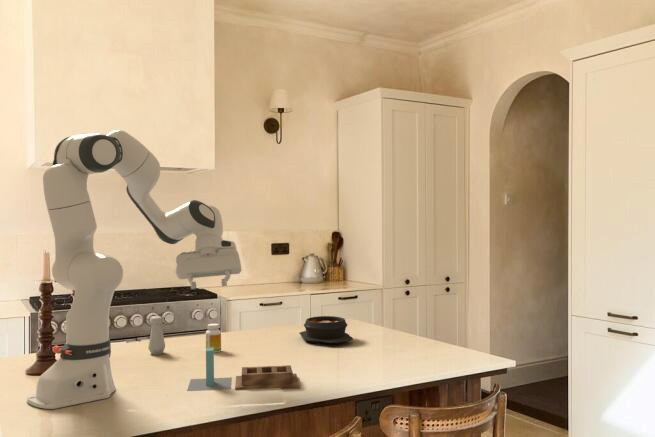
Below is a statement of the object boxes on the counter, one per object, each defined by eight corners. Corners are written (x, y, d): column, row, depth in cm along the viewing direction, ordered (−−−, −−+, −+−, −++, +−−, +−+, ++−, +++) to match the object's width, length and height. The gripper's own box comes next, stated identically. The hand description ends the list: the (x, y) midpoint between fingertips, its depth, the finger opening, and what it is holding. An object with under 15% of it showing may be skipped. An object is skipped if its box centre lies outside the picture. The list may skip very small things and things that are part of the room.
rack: (235, 391, 170) (235, 376, 170) (236, 379, 182) (235, 366, 182) (299, 388, 172) (299, 374, 172) (296, 376, 184) (296, 363, 184)
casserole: (288, 338, 240) (287, 317, 240) (326, 332, 251) (326, 312, 251) (324, 350, 219) (324, 326, 219) (364, 343, 230) (364, 321, 230)
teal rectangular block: (206, 386, 174) (205, 350, 174) (207, 382, 178) (206, 347, 177) (213, 385, 174) (212, 350, 174) (214, 381, 178) (213, 347, 178)
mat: (186, 392, 169) (186, 390, 169) (190, 380, 181) (190, 379, 181) (230, 390, 171) (230, 388, 171) (231, 378, 182) (231, 377, 182)
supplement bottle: (224, 350, 219) (224, 323, 219) (214, 353, 215) (214, 326, 215) (212, 349, 222) (212, 322, 222) (202, 352, 217) (202, 325, 217)
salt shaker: (144, 354, 215) (144, 317, 215) (156, 350, 220) (156, 314, 220) (157, 356, 212) (156, 318, 212) (168, 352, 217) (168, 316, 217)
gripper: (174, 247, 193) (172, 284, 185) (239, 241, 195) (240, 277, 186) (178, 258, 198) (176, 295, 190) (241, 252, 200) (242, 288, 191)
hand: (208, 286), depth 188 cm, fingers open, 8 cm apart
